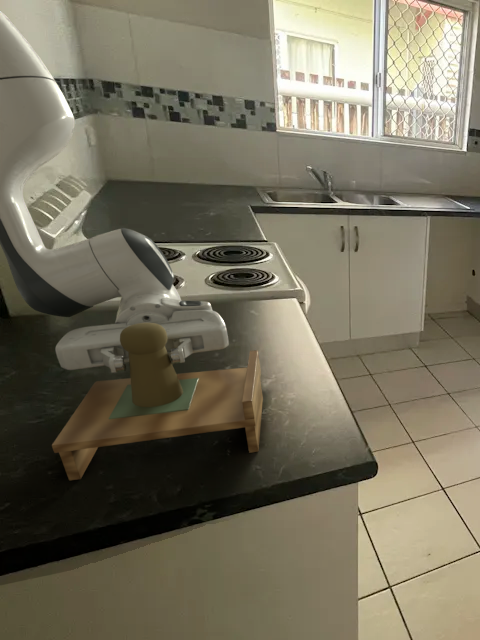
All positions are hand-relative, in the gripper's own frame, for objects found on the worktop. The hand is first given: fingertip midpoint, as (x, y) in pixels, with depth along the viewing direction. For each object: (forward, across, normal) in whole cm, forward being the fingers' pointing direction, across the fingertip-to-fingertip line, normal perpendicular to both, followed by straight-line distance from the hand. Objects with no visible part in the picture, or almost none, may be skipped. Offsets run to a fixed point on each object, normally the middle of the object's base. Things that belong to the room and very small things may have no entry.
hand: (148, 362), depth 65 cm
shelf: (0, +2, +12) cm, 12 cm away
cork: (-1, 0, +6) cm, 6 cm away
